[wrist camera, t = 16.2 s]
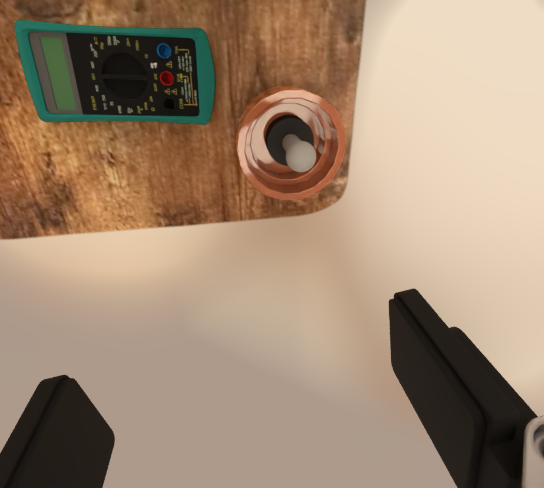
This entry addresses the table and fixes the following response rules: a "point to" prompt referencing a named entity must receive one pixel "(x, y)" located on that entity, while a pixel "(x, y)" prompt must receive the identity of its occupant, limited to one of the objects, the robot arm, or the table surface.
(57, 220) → the table surface
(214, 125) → the table surface
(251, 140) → the basin bowl
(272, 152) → the stopper
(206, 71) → the digital multimeter
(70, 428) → the robot arm
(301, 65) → the table surface
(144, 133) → the table surface
